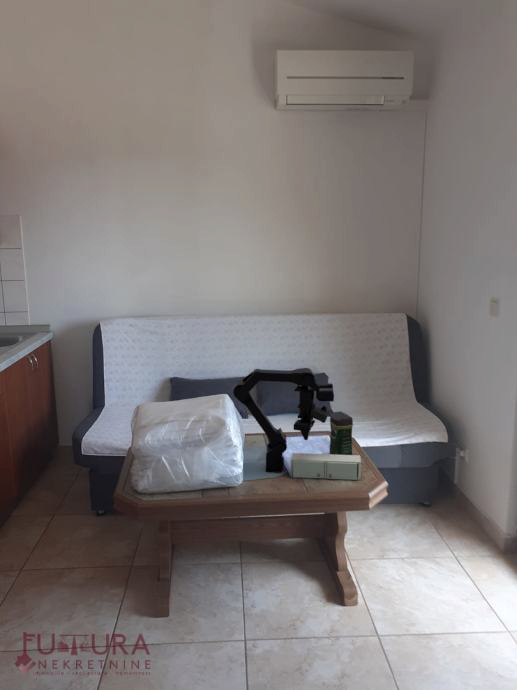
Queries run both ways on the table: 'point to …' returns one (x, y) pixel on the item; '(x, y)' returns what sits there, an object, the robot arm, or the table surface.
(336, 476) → the cabinet
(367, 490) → the table surface
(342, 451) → the coffee jar
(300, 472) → the door
